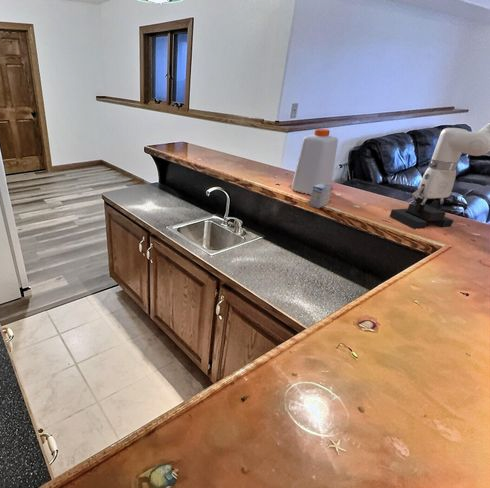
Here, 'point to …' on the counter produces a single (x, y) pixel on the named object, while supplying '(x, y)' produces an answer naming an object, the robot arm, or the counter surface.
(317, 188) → the medicine box
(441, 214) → the black pad
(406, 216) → the base pad
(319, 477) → the counter surface
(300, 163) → the plastic bottle
